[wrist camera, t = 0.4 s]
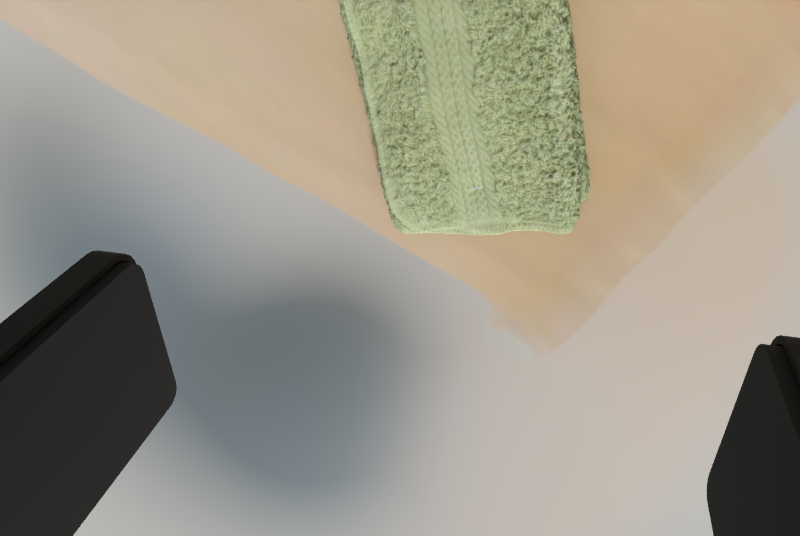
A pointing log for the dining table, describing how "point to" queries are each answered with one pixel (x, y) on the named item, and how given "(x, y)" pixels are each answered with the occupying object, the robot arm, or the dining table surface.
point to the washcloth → (472, 112)
